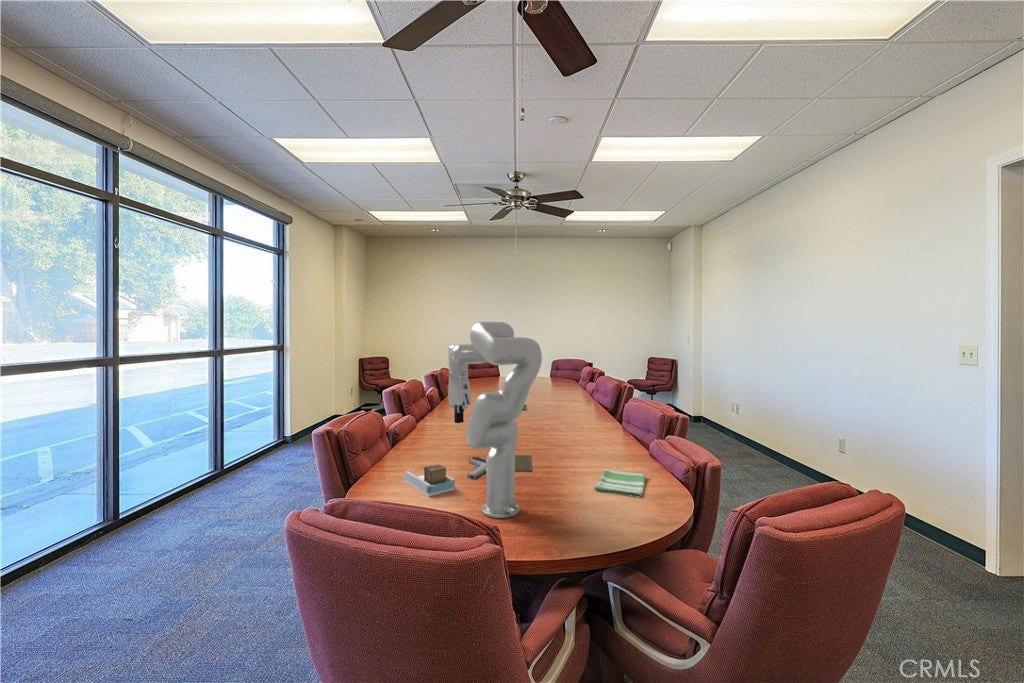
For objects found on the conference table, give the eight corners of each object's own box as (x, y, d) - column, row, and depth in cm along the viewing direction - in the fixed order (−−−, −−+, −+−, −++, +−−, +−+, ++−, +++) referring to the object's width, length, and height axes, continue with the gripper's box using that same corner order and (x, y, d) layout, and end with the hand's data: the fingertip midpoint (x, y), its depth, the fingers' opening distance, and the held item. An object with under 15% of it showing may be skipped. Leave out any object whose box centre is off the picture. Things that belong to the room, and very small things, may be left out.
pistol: (474, 454, 205) (501, 458, 199) (474, 460, 205) (501, 464, 199) (446, 469, 184) (475, 474, 178) (446, 476, 184) (475, 481, 178)
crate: (446, 486, 166) (446, 467, 166) (431, 490, 162) (431, 471, 162) (438, 482, 171) (438, 464, 171) (423, 485, 167) (424, 467, 167)
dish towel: (592, 492, 166) (592, 485, 165) (603, 473, 187) (603, 467, 187) (641, 499, 159) (641, 491, 159) (646, 479, 181) (646, 472, 181)
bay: (454, 489, 166) (454, 479, 166) (428, 496, 159) (428, 485, 159) (430, 475, 182) (430, 466, 182) (405, 481, 175) (405, 471, 175)
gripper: (477, 376, 170) (477, 423, 170) (456, 374, 181) (456, 419, 181) (460, 377, 165) (461, 426, 165) (440, 375, 176) (441, 421, 176)
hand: (459, 422), depth 173 cm, fingers closed
